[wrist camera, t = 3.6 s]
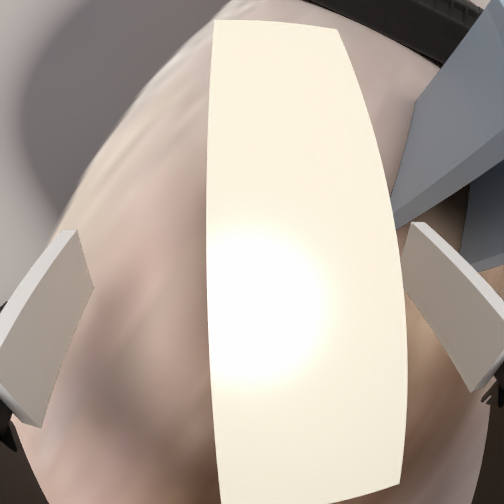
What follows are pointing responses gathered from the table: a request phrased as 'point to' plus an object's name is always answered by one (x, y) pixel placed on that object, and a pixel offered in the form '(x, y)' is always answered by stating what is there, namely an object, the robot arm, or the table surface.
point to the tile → (300, 273)
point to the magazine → (413, 21)
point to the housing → (461, 142)
